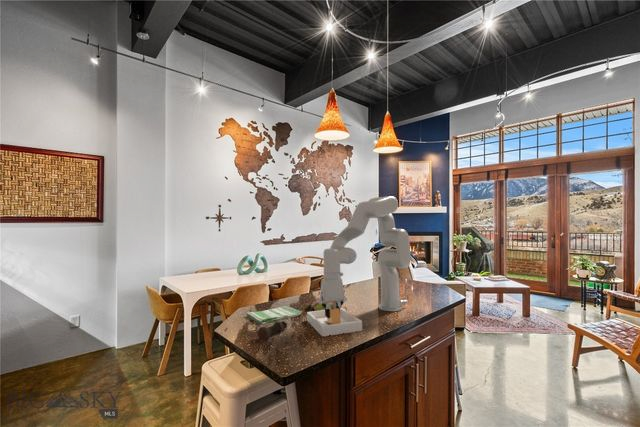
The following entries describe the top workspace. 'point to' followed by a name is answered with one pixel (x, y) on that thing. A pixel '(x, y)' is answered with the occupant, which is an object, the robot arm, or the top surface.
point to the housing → (326, 329)
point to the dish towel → (273, 314)
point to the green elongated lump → (317, 305)
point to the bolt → (271, 330)
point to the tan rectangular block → (334, 315)
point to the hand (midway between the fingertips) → (332, 316)
